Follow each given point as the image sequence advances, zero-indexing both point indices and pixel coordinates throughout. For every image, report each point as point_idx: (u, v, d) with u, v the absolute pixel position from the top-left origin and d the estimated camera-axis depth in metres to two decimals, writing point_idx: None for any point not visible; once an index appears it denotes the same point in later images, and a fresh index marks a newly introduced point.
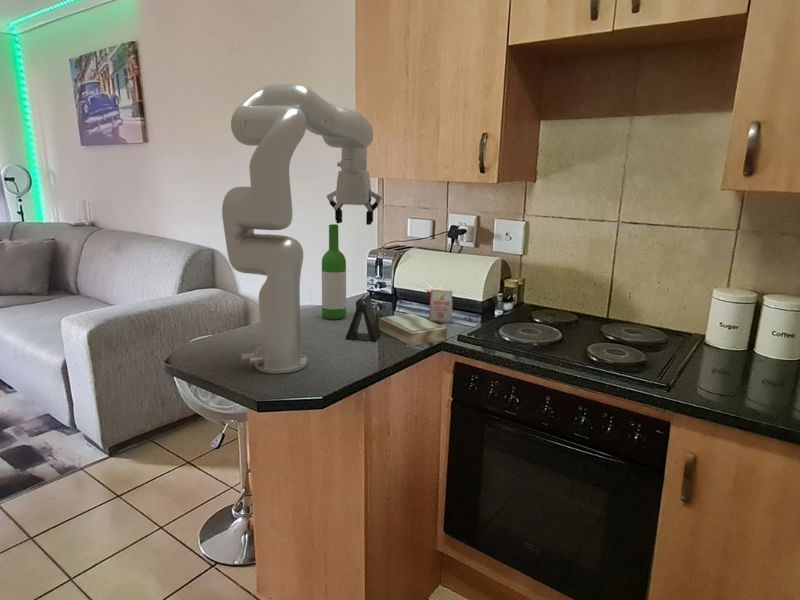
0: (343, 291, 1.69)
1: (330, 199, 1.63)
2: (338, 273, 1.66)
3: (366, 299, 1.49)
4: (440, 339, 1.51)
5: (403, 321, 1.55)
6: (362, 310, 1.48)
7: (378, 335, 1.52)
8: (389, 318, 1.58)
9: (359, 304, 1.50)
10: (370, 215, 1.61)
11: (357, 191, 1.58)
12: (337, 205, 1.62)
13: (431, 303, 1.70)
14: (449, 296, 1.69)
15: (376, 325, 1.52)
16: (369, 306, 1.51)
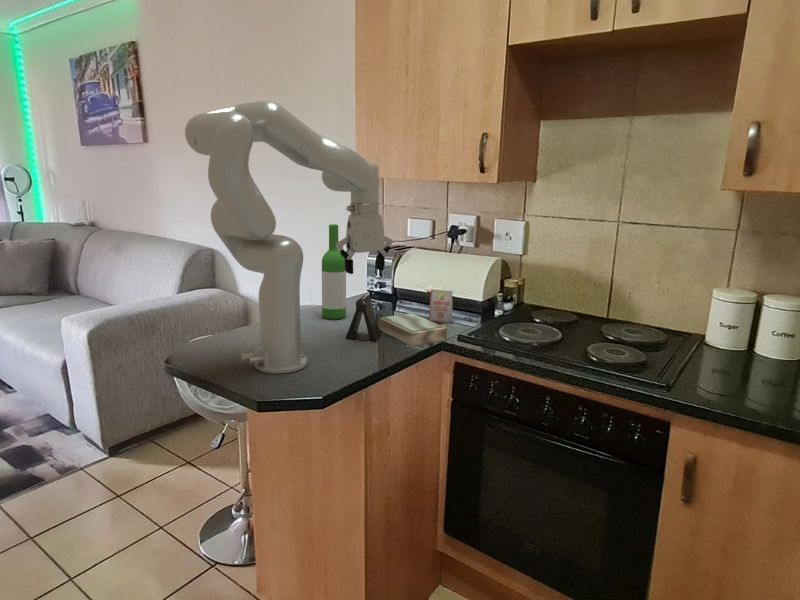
0: (343, 291, 1.69)
1: (341, 248, 1.42)
2: (338, 273, 1.66)
3: (366, 299, 1.49)
4: (440, 339, 1.51)
5: (403, 321, 1.55)
6: (362, 310, 1.48)
7: (378, 335, 1.52)
8: (389, 318, 1.58)
9: (359, 304, 1.50)
10: None
11: (376, 237, 1.45)
12: (351, 254, 1.43)
13: (431, 303, 1.70)
14: (449, 296, 1.69)
15: (376, 325, 1.52)
16: (369, 306, 1.51)
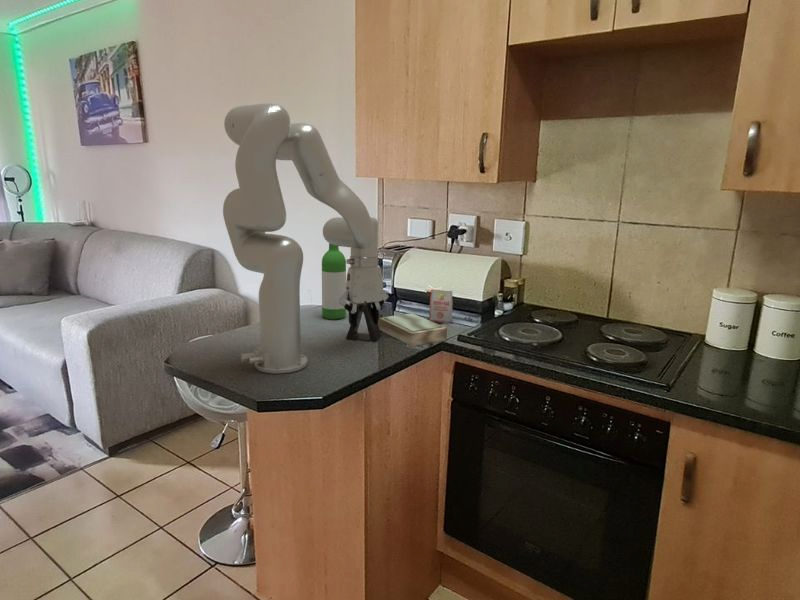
0: (343, 291, 1.69)
1: (344, 303, 1.46)
2: (338, 273, 1.66)
3: None
4: (440, 339, 1.51)
5: (403, 321, 1.55)
6: (362, 310, 1.48)
7: (378, 335, 1.52)
8: (389, 318, 1.58)
9: (359, 304, 1.50)
10: None
11: (375, 288, 1.48)
12: (354, 308, 1.47)
13: (431, 303, 1.70)
14: (449, 296, 1.69)
15: (376, 325, 1.53)
16: (369, 306, 1.51)
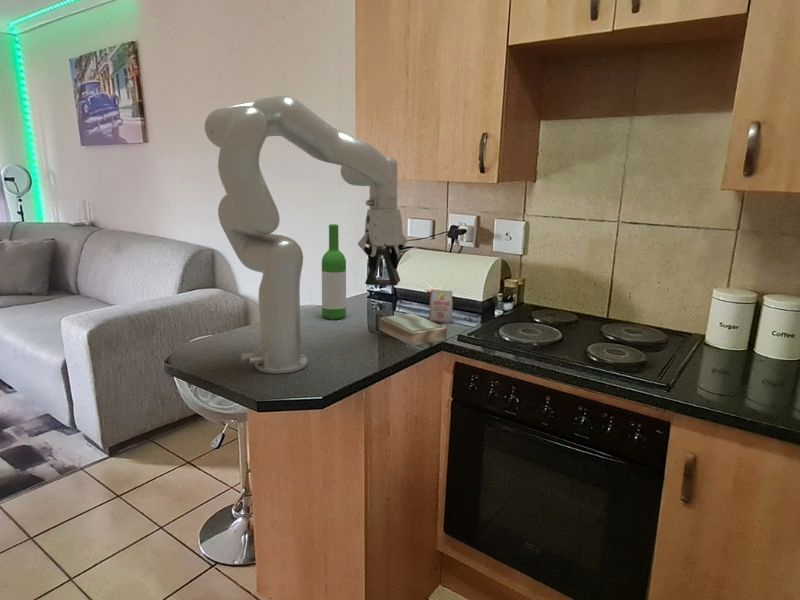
0: (343, 291, 1.69)
1: (364, 246, 1.44)
2: (338, 273, 1.66)
3: None
4: (440, 339, 1.51)
5: (403, 321, 1.55)
6: (382, 253, 1.45)
7: (398, 279, 1.50)
8: (389, 318, 1.58)
9: (378, 248, 1.48)
10: (396, 258, 1.50)
11: (394, 231, 1.46)
12: (374, 251, 1.45)
13: (431, 303, 1.70)
14: (449, 296, 1.69)
15: (395, 270, 1.51)
16: (388, 250, 1.49)
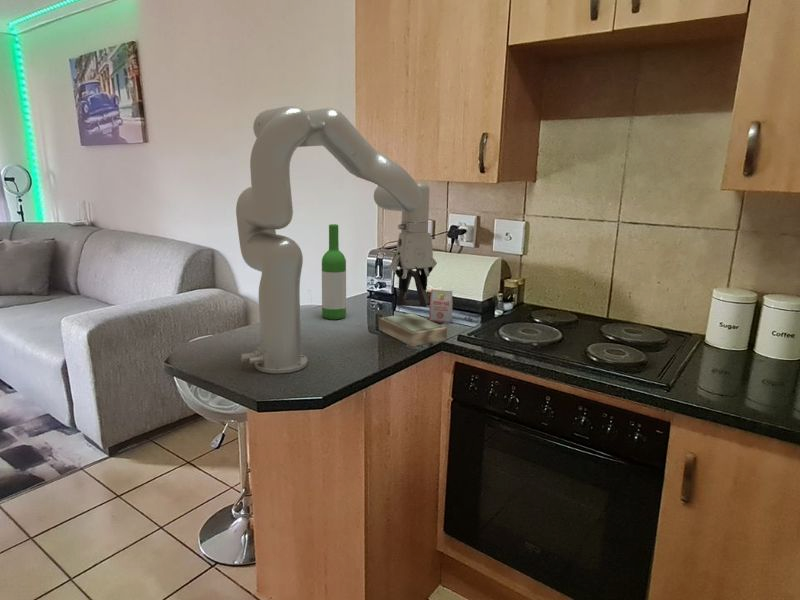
0: (343, 291, 1.69)
1: (395, 268, 1.48)
2: (338, 273, 1.66)
3: None
4: (440, 339, 1.51)
5: (403, 321, 1.55)
6: (413, 275, 1.49)
7: (427, 301, 1.54)
8: (389, 318, 1.58)
9: (409, 270, 1.51)
10: None
11: (425, 254, 1.50)
12: (405, 273, 1.49)
13: (431, 303, 1.70)
14: (449, 296, 1.69)
15: (425, 291, 1.54)
16: (418, 272, 1.53)
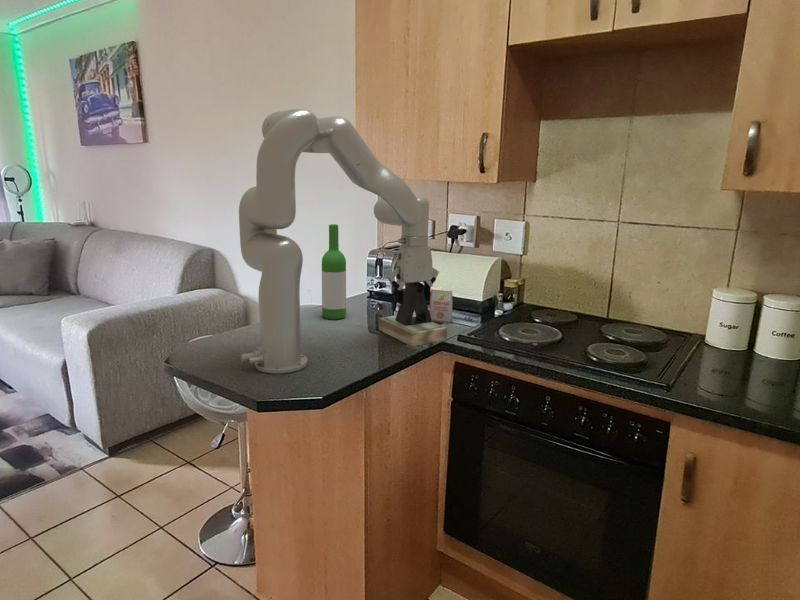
0: (343, 291, 1.69)
1: (392, 279, 1.48)
2: (338, 273, 1.66)
3: None
4: (440, 339, 1.51)
5: None
6: (421, 293, 1.51)
7: None
8: (389, 318, 1.58)
9: None
10: None
11: (425, 268, 1.51)
12: (402, 285, 1.49)
13: (431, 303, 1.70)
14: (449, 296, 1.69)
15: None
16: None
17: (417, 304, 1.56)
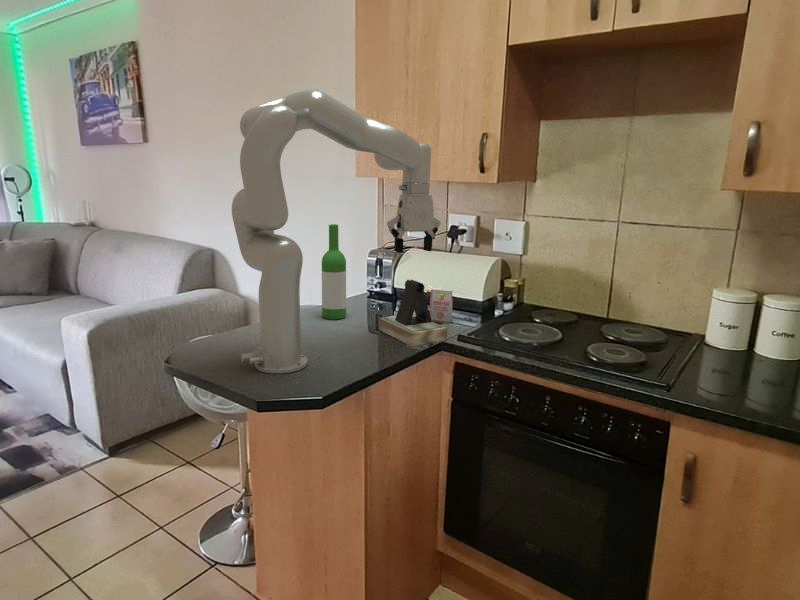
0: (343, 291, 1.69)
1: (392, 226, 1.44)
2: (338, 273, 1.66)
3: None
4: (440, 339, 1.51)
5: None
6: (421, 293, 1.51)
7: None
8: (389, 318, 1.58)
9: None
10: None
11: (426, 217, 1.47)
12: (402, 233, 1.45)
13: (431, 303, 1.70)
14: (449, 296, 1.69)
15: None
16: None
17: (417, 304, 1.56)
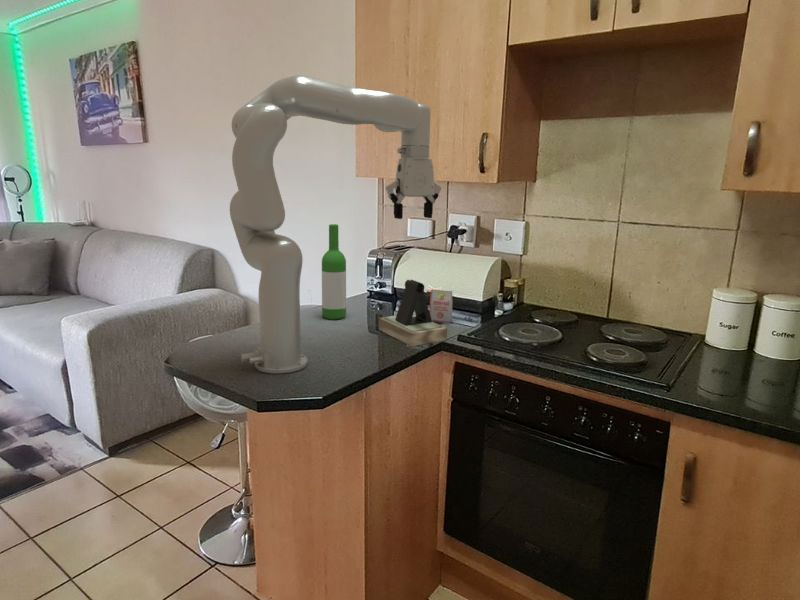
0: (343, 291, 1.69)
1: (391, 191, 1.40)
2: (338, 273, 1.66)
3: None
4: (440, 339, 1.51)
5: None
6: (421, 293, 1.51)
7: None
8: (389, 318, 1.58)
9: None
10: None
11: (426, 181, 1.42)
12: (401, 198, 1.41)
13: (431, 303, 1.70)
14: (449, 296, 1.69)
15: None
16: None
17: (417, 304, 1.56)
